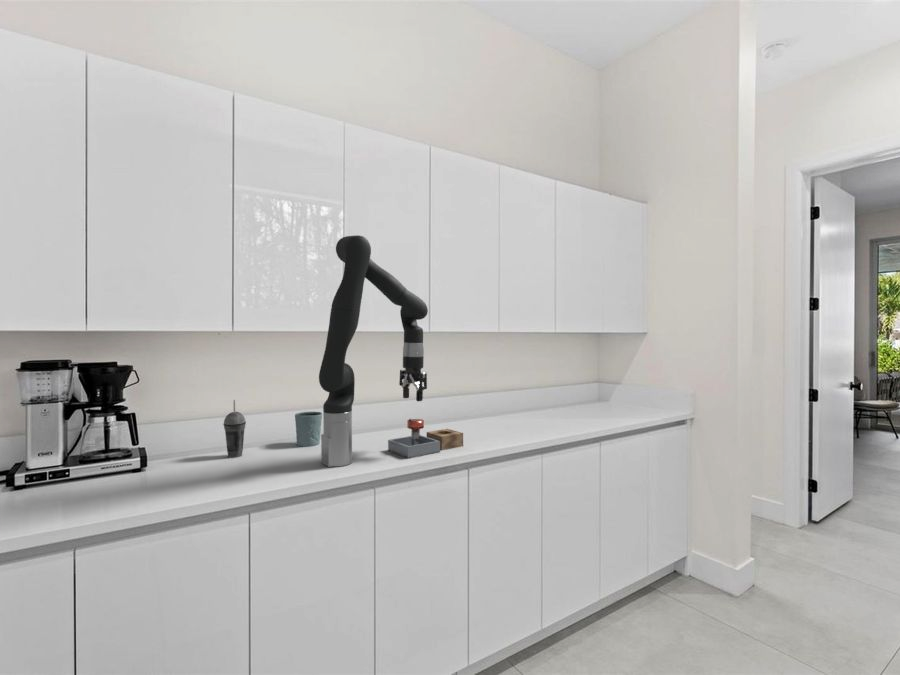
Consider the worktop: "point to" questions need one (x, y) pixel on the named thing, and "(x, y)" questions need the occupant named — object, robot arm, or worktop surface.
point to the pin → (415, 430)
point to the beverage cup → (234, 433)
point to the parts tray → (413, 446)
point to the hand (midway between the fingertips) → (412, 399)
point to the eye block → (447, 438)
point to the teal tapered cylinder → (308, 428)
